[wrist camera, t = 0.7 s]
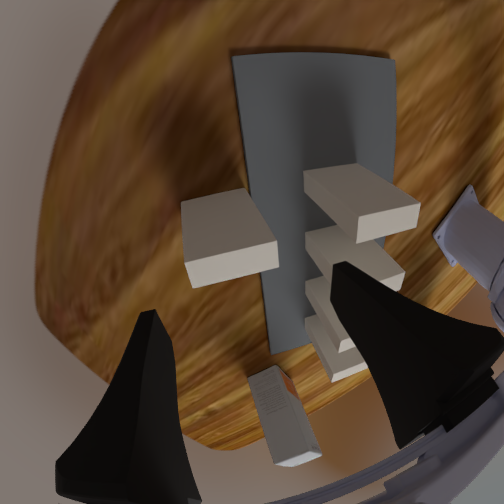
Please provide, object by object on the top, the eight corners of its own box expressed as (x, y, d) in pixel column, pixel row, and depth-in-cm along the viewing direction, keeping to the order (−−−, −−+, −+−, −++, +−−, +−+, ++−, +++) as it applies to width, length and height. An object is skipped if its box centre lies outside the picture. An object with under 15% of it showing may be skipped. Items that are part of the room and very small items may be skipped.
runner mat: (231, 57, 14) (232, 56, 13) (390, 59, 15) (394, 59, 15) (270, 351, 30) (271, 355, 30) (364, 320, 32) (366, 323, 31)
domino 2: (303, 170, 19) (358, 216, 13) (356, 163, 19) (420, 203, 14) (304, 191, 20) (356, 243, 14) (356, 182, 20) (416, 227, 14)
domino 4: (305, 280, 24) (340, 341, 19) (348, 268, 25) (390, 321, 19) (305, 293, 25) (338, 353, 20) (347, 281, 26) (385, 334, 20)
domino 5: (304, 318, 27) (333, 374, 22) (343, 305, 28) (376, 356, 22) (304, 327, 28) (331, 382, 23) (342, 315, 29) (373, 365, 23)
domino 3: (305, 232, 22) (349, 291, 16) (353, 221, 22) (405, 271, 16) (305, 249, 22) (346, 309, 17) (352, 237, 23) (400, 289, 17)
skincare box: (293, 379, 35) (323, 455, 26) (265, 392, 36) (291, 467, 26) (276, 362, 32) (310, 451, 22) (245, 377, 32) (272, 465, 22)
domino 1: (180, 201, 18) (184, 262, 13) (244, 187, 19) (277, 240, 13) (186, 222, 19) (192, 288, 14) (247, 208, 20) (279, 267, 14)
